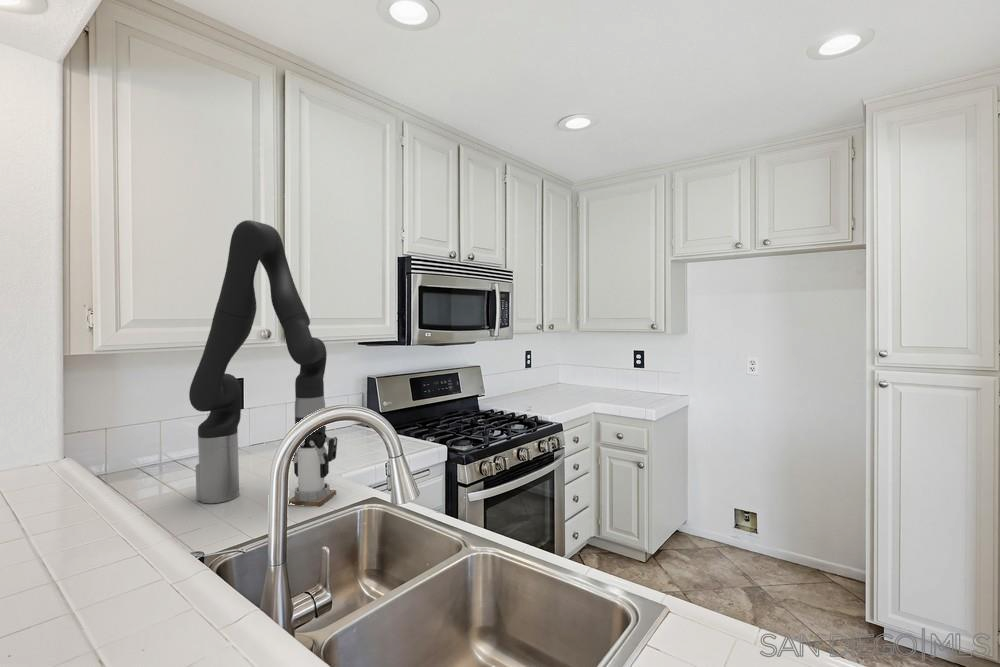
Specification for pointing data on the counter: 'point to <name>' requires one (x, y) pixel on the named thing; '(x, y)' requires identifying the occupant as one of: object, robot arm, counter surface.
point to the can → (309, 471)
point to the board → (313, 503)
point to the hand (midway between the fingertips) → (311, 476)
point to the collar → (312, 494)
